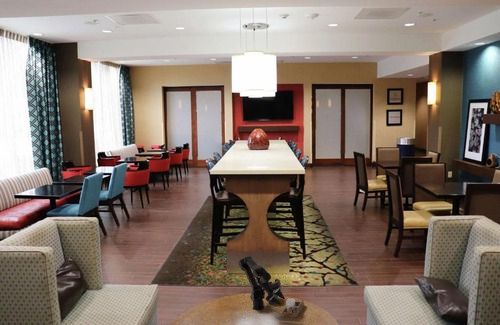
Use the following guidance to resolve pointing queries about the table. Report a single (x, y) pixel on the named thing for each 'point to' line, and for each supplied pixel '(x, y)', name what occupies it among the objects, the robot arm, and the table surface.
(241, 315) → the table surface
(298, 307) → the divided wooden tray
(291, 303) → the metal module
